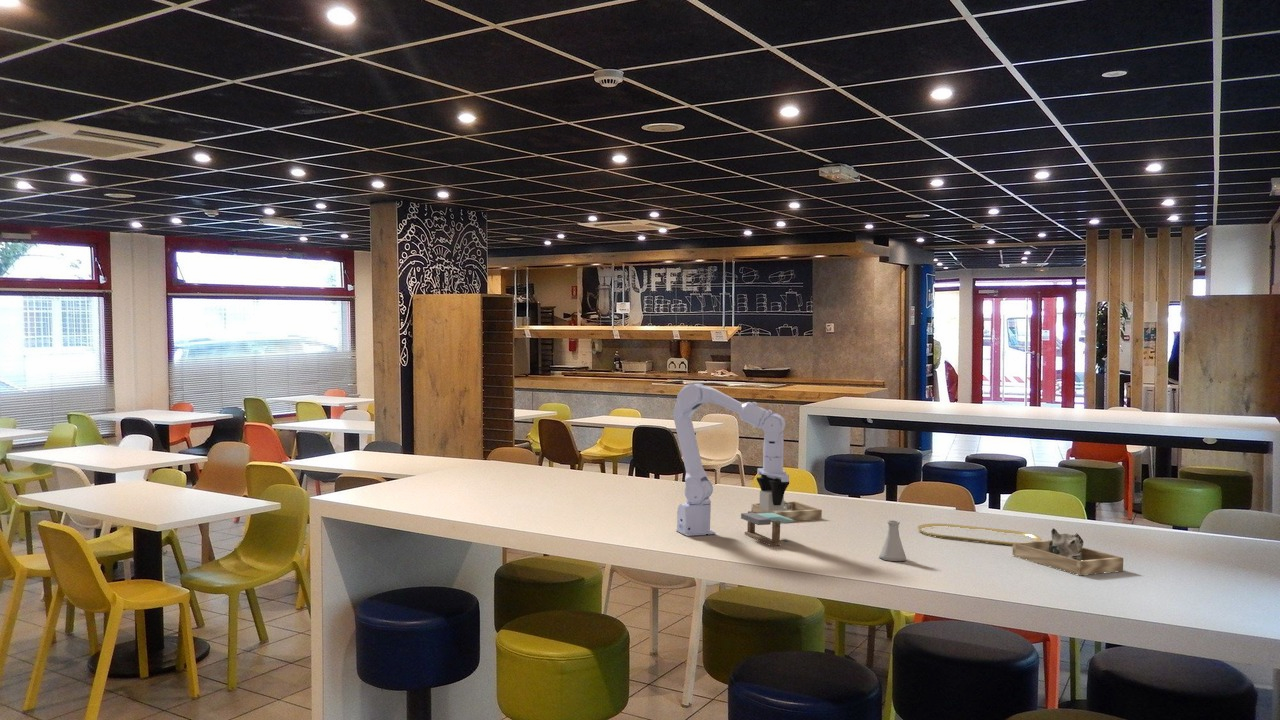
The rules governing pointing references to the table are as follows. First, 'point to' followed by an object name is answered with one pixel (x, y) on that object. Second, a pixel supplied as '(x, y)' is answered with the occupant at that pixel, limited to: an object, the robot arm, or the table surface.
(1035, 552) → the shallow wooden tray
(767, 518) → the trapdoor
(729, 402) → the robot arm
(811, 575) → the table surface
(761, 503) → the light grey cube
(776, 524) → the frame
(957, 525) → the serving platter
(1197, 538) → the table surface
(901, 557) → the flask
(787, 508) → the rock sample
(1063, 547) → the grey lumpy piece
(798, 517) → the square wooden tray
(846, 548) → the table surface
